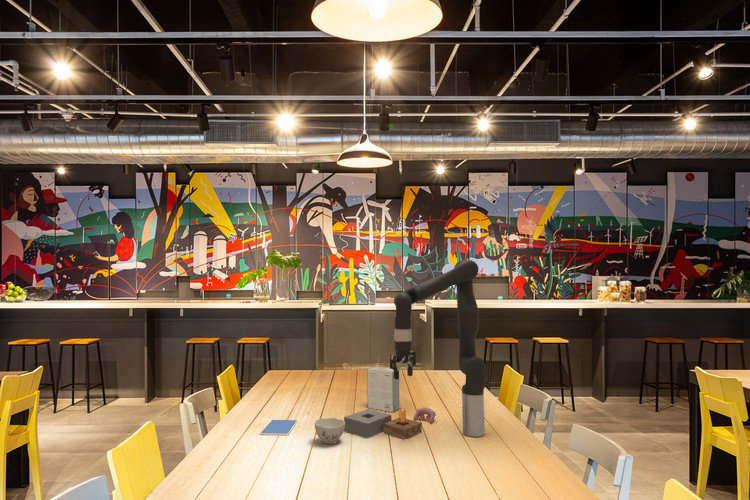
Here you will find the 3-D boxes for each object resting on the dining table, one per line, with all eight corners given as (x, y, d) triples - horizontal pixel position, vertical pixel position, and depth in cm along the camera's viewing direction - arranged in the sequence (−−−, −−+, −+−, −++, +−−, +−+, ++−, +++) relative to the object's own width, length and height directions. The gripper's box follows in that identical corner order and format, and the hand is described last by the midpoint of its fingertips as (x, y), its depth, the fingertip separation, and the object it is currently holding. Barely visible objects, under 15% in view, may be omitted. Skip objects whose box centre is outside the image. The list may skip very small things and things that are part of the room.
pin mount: (400, 426, 200) (400, 417, 201) (421, 432, 193) (421, 422, 193) (383, 433, 191) (383, 423, 192) (405, 439, 184) (405, 429, 184)
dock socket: (368, 421, 206) (368, 408, 207) (391, 428, 197) (391, 414, 198) (344, 430, 194) (344, 417, 195) (367, 438, 185) (367, 423, 186)
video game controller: (435, 425, 206) (437, 410, 209) (431, 423, 203) (433, 407, 206) (416, 422, 211) (418, 407, 214) (412, 419, 208) (414, 404, 211)
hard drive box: (400, 409, 227) (400, 369, 228) (392, 412, 221) (392, 372, 222) (374, 404, 235) (374, 366, 237) (366, 408, 229) (366, 369, 230)
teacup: (341, 448, 174) (341, 427, 175) (310, 446, 176) (310, 426, 177) (348, 435, 189) (348, 416, 190) (320, 433, 191) (320, 414, 192)
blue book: (271, 421, 209) (271, 419, 209) (298, 422, 208) (298, 419, 208) (259, 436, 189) (259, 433, 189) (288, 437, 189) (288, 433, 189)
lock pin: (401, 431, 194) (401, 407, 195) (407, 432, 192) (407, 409, 193) (397, 432, 192) (397, 409, 193) (403, 434, 190) (403, 410, 191)
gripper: (407, 337, 198) (407, 373, 197) (385, 340, 188) (385, 378, 187) (420, 338, 193) (420, 376, 192) (398, 342, 183) (398, 381, 182)
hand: (403, 377), depth 189 cm, fingers open, 8 cm apart
